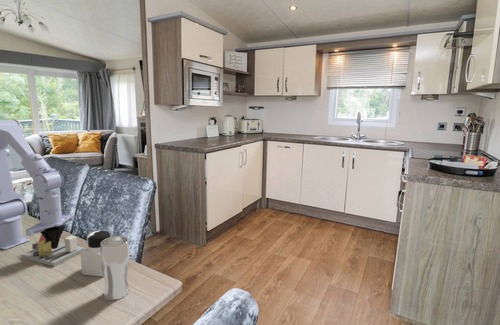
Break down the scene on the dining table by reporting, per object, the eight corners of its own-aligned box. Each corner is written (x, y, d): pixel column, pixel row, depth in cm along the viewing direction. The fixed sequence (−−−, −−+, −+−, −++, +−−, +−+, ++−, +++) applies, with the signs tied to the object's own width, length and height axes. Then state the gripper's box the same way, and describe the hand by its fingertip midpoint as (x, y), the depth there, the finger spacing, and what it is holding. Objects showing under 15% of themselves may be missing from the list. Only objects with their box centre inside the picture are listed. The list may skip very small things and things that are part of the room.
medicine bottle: (118, 264, 87) (116, 229, 85) (104, 277, 80) (102, 239, 78) (97, 262, 88) (95, 227, 86) (81, 275, 81) (79, 237, 79)
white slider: (65, 250, 91) (64, 238, 90) (72, 247, 93) (71, 235, 93) (70, 252, 90) (69, 239, 90) (77, 248, 93) (76, 236, 92)
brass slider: (39, 255, 87) (37, 242, 87) (46, 252, 90) (45, 239, 89) (44, 257, 87) (43, 244, 86) (51, 253, 89) (50, 241, 88)
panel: (20, 257, 89) (19, 249, 88) (53, 242, 99) (53, 235, 99) (54, 266, 84) (53, 258, 84) (85, 250, 95) (84, 243, 94)
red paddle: (34, 247, 92) (43, 228, 94) (37, 248, 93) (46, 228, 95) (42, 249, 91) (50, 229, 93) (45, 250, 92) (53, 230, 94)
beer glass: (136, 288, 76) (135, 238, 73) (116, 304, 69) (114, 249, 67) (116, 282, 78) (114, 233, 75) (96, 297, 71) (93, 244, 69)
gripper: (36, 218, 80) (39, 260, 83) (80, 203, 94) (82, 240, 96) (19, 214, 82) (23, 256, 85) (64, 201, 96) (67, 237, 98)
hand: (53, 247), depth 91 cm, fingers closed
